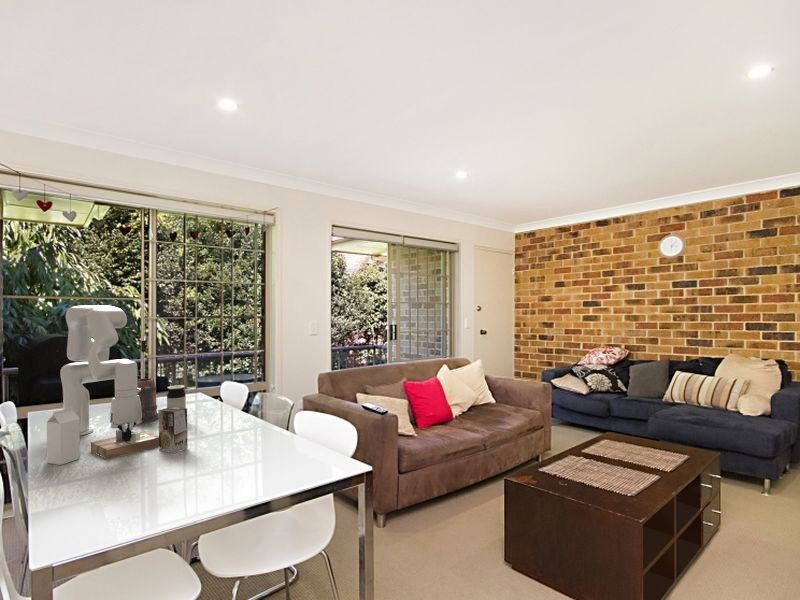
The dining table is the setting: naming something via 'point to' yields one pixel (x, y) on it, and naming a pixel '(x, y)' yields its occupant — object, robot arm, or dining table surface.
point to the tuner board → (124, 445)
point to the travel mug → (176, 396)
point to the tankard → (148, 400)
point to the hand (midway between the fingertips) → (126, 440)
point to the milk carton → (63, 437)
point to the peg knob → (134, 438)
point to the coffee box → (173, 429)
